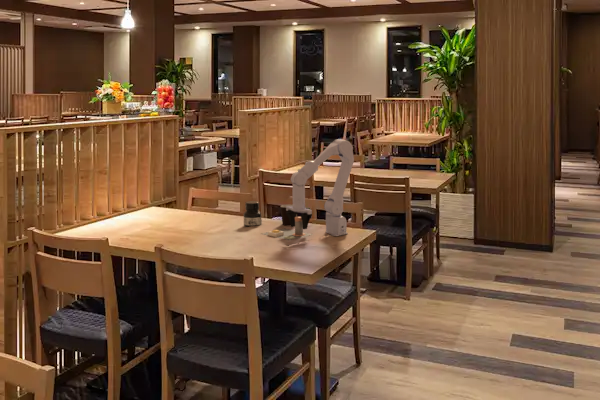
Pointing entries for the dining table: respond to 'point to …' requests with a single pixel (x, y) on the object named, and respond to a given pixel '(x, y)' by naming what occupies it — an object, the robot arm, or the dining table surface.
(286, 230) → the board
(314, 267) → the dining table surface
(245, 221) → the ink bottle
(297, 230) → the marker
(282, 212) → the coffee mug
